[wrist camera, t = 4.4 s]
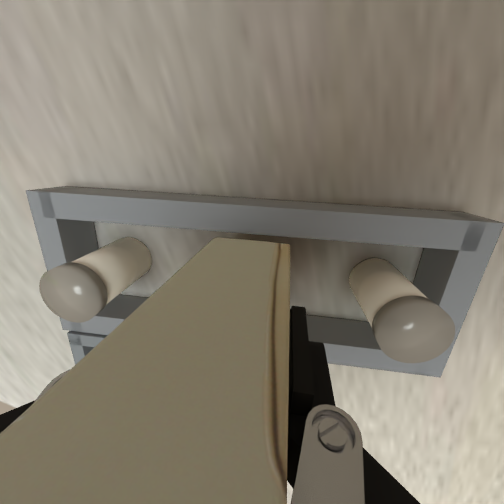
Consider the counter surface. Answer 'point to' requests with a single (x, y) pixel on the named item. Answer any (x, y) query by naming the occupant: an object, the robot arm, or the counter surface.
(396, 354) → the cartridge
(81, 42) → the counter surface
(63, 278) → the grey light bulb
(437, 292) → the grey rectangular frame
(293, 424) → the robot arm
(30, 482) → the skincare box
